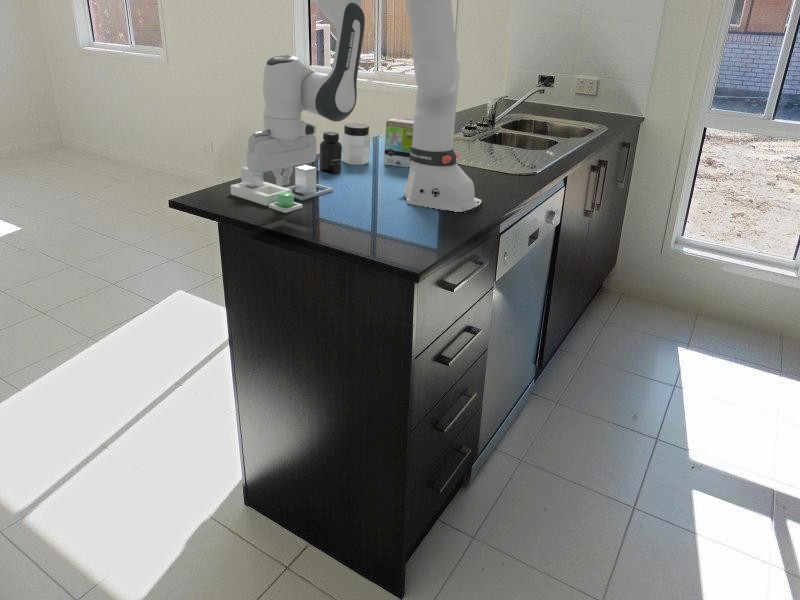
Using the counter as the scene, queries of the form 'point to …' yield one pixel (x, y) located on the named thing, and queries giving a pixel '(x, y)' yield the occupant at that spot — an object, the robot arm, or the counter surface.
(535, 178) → the counter surface
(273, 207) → the button housing
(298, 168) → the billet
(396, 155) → the tea box
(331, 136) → the supplement bottle
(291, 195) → the button
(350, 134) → the jar
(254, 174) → the block
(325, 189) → the tote
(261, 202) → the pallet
